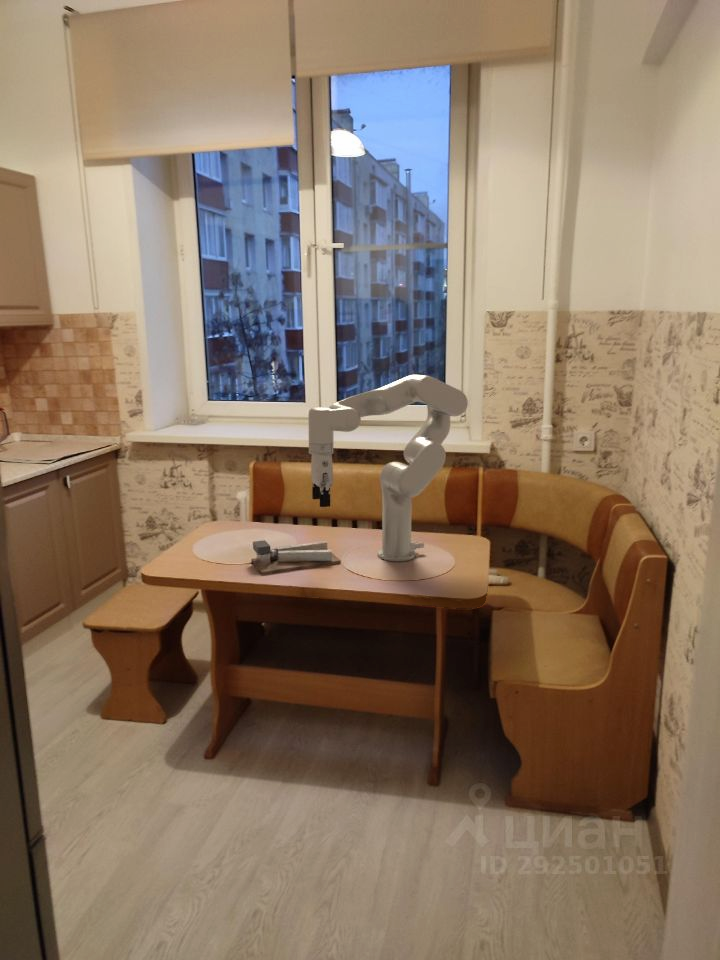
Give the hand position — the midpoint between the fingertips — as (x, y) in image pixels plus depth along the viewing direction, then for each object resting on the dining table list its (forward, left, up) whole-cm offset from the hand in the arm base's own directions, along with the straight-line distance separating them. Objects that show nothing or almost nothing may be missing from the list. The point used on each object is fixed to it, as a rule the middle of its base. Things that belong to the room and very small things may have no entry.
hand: (321, 502), depth 207 cm
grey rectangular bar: (+5, -6, -20) cm, 22 cm away
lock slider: (+17, -10, -17) cm, 26 cm away
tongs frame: (+6, -10, -20) cm, 23 cm away
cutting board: (+6, -7, -21) cm, 23 cm away
